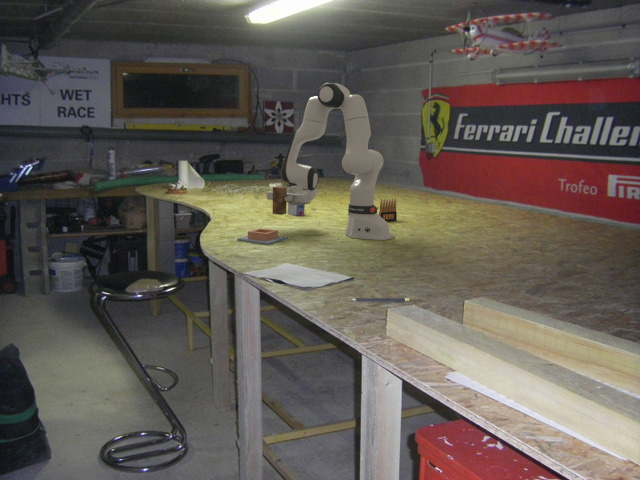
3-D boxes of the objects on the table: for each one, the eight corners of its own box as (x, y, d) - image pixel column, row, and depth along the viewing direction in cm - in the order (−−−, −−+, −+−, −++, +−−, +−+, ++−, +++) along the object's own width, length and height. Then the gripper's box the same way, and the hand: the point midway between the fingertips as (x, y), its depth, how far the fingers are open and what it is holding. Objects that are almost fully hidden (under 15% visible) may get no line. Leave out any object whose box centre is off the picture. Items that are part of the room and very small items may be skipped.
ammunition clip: (394, 220, 335) (395, 198, 333) (396, 220, 333) (397, 198, 331) (378, 221, 330) (379, 198, 327) (380, 222, 328) (381, 199, 326)
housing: (288, 239, 276) (288, 230, 275) (268, 245, 262) (268, 235, 261) (258, 235, 283) (258, 226, 283) (237, 240, 269) (237, 231, 269)
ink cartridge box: (305, 215, 343) (305, 189, 340) (296, 216, 340) (296, 189, 337) (296, 213, 351) (296, 187, 349) (287, 213, 348) (287, 187, 346)
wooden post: (286, 213, 283) (286, 187, 281) (281, 214, 280) (281, 187, 277) (277, 212, 286) (278, 186, 283) (272, 213, 282) (272, 187, 279)
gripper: (275, 187, 297) (259, 189, 285) (313, 190, 287) (298, 193, 275) (275, 200, 298) (259, 203, 286) (313, 203, 288) (297, 207, 276)
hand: (278, 198), depth 280 cm, fingers closed on wooden post, 4 cm apart
